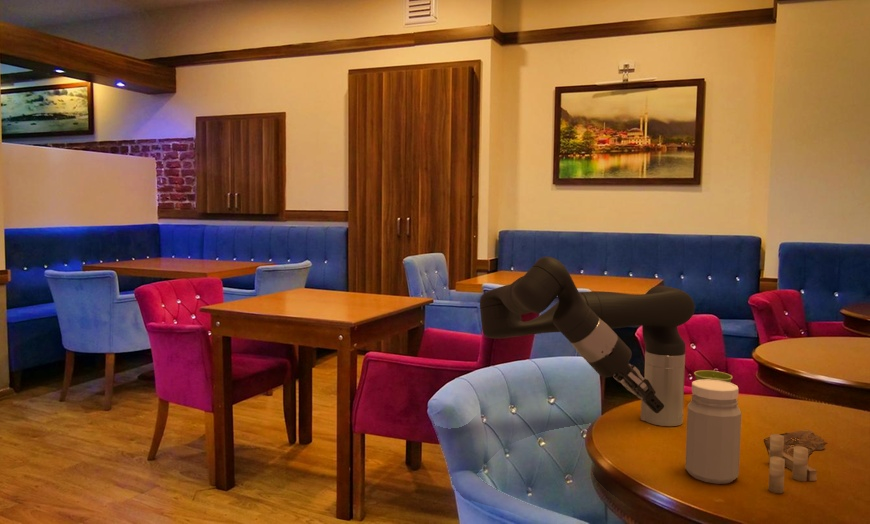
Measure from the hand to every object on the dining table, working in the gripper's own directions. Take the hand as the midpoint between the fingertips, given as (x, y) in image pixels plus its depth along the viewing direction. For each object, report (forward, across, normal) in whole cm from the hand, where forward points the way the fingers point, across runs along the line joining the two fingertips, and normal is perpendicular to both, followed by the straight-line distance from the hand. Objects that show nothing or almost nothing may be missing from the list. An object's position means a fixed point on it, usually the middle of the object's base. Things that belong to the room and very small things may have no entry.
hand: (659, 409), depth 122 cm
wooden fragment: (+38, -14, +18) cm, 44 cm away
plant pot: (+36, -43, +16) cm, 58 cm away
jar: (+18, 0, -2) cm, 18 cm away
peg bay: (+27, 0, +8) cm, 28 cm away
